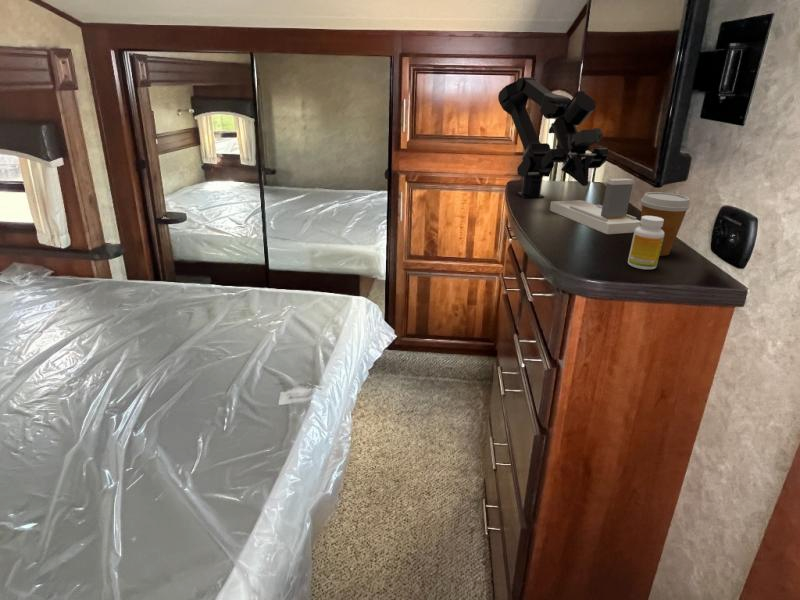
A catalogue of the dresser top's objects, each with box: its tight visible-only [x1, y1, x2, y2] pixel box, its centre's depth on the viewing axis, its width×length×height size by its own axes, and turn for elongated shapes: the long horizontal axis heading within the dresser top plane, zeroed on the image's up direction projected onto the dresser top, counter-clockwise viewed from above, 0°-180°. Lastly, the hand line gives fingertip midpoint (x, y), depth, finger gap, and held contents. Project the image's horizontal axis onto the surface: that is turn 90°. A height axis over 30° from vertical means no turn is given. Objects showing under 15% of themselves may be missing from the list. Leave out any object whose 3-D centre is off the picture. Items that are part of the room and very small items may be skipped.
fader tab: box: [601, 178, 634, 218], centre depth 127 cm, size 2×6×9 cm, turn 109°
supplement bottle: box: [627, 216, 664, 271], centre depth 102 cm, size 5×5×10 cm
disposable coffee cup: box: [640, 191, 692, 257], centre depth 110 cm, size 10×10×12 cm
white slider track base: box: [549, 199, 641, 235], centre depth 135 cm, size 24×10×3 cm, turn 19°
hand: (585, 185), depth 137 cm, fingers closed
